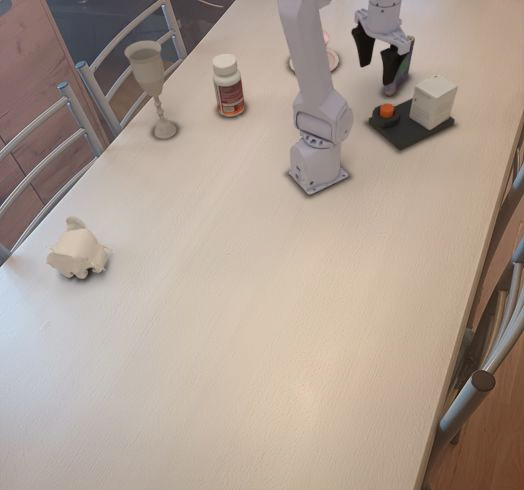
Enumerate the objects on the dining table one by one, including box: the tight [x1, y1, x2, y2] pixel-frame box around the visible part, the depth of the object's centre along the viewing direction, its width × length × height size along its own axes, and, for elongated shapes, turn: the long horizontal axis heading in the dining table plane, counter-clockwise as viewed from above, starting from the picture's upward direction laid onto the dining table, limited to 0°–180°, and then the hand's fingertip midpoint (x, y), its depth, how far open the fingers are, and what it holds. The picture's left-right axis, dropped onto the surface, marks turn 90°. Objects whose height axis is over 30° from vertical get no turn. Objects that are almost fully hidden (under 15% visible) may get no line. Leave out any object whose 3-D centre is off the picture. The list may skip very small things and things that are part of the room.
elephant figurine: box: [45, 215, 116, 280], centre depth 90 cm, size 10×12×9 cm
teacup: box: [289, 28, 340, 73], centre depth 119 cm, size 12×12×6 cm
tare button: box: [380, 103, 395, 118], centre depth 105 cm, size 3×3×2 cm
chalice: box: [124, 40, 178, 139], centre depth 105 cm, size 7×7×18 cm
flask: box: [383, 34, 416, 97], centre depth 110 cm, size 9×3×11 cm, turn 146°
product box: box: [409, 73, 459, 130], centre depth 102 cm, size 6×6×7 cm
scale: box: [368, 97, 455, 151], centre depth 106 cm, size 14×11×3 cm
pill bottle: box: [212, 53, 245, 118], centre depth 110 cm, size 6×6×11 cm
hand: (376, 74), depth 100 cm, fingers open, 7 cm apart
